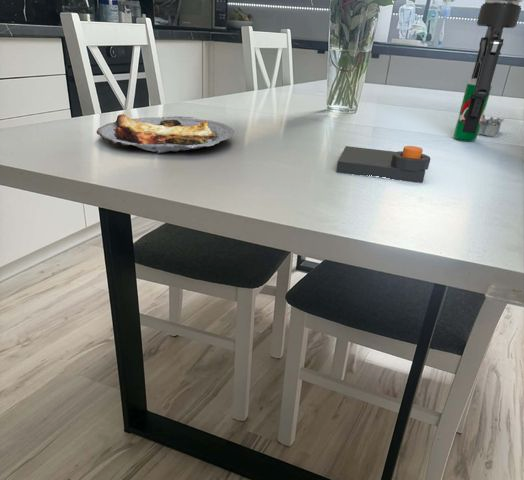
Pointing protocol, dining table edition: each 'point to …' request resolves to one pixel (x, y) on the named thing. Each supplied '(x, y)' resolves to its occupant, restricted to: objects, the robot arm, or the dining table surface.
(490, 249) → the dining table surface
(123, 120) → the food plate
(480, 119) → the soda can
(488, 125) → the egg carton
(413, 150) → the tare button
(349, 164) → the dark grey flat block
